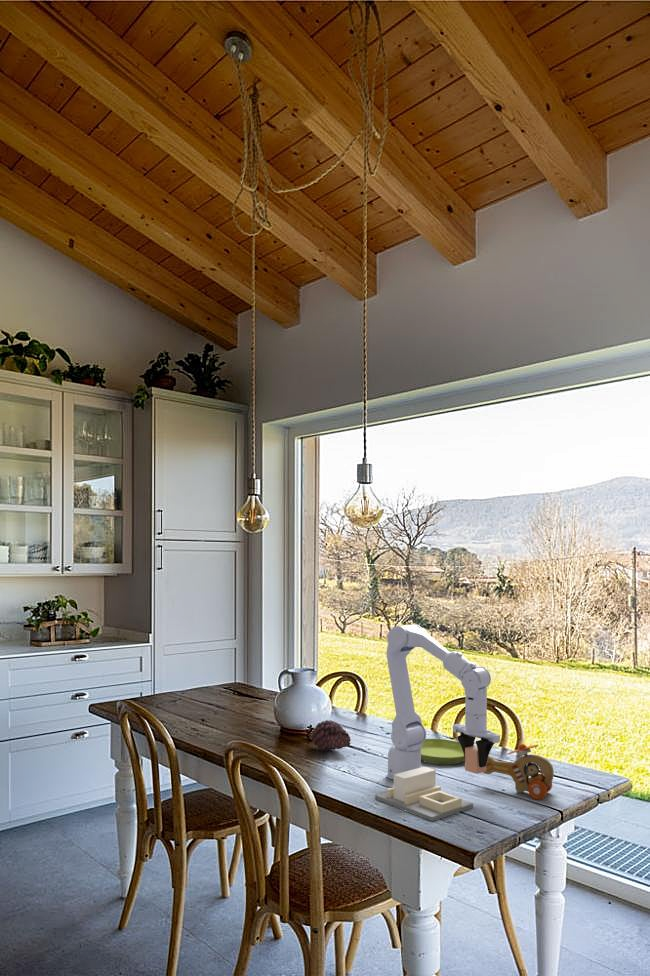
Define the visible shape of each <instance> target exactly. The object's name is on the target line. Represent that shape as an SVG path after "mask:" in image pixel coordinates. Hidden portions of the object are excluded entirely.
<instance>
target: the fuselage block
mask: <svg viewBox="0 0 650 976" xmlns="http://www.w3.org/2000/svg"><path fill="white" fill-rule="evenodd" d="M436 772H437V771H436V769H433V768H431V767H427V766H421V768H417V769H413V770H409V771H405V772H402V773H398V774H394V780H393V787H394V798H395V799H398V800H400V801H403V802H404V796H405V795H408V794H412V793H415V792H418V791H422V790H425V789H429V788H432V787H435V786H436V775H437V774H436Z"/></svg>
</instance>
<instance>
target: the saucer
mask: <svg viewBox="0 0 650 976" xmlns="http://www.w3.org/2000/svg"><path fill="white" fill-rule="evenodd" d="M421 760H422V761H421V762H424V761H425V762H424V763H428V762H429V764H433V763H435V764H434V765H455V763H456V764H460V763H463V762H465V757H464V753H463V750H462V747H461V745H460V743H459V741H456V740H451V739H443V738H442V739H441V738H426V739H425V741H424V742H423V743H422V747H421Z"/></svg>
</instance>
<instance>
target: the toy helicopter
mask: <svg viewBox="0 0 650 976" xmlns="http://www.w3.org/2000/svg"><path fill="white" fill-rule="evenodd" d="M537 747H539V745H538V744H534V745H533V744H532V745H529V746H527V745H526V744H524V743H521V744H519V745H518V747H517V748H518V749H515V750H511V751H509V752H508V753H507V754H508V755H510V754H515V753H517V754H518V756H519V758H518V759H517V760H515V761H514V762H513V761H505V760H504V761H503V760H496V759H495V758H494V757H492V756H490V755H489V756H488V759H487V763H486V771H485V772H482V774H485V775H491V774H492V773H499V774H503V775H507V776H509V777H511V779H512V780H513V781H514V784H515V787H514V788H515V791H516V792H517V793H520V794H521V793H523V792H528V793H529V795H530V797H531V798H532V799H535V800H537V799H538V800H543V799H544V798H545V797H546V795H547V794H548V793H549V792H550V791H551V790H552V788H553V780H554V774H555V773H554V767H553V765H552V763H551V762H550V760H548V759H547V758H546V757H544V756H542V755H538V754H529V753H531V751H532V750H531V749H533V748H537ZM538 800H537V801H538Z"/></svg>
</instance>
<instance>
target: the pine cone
mask: <svg viewBox="0 0 650 976" xmlns="http://www.w3.org/2000/svg"><path fill="white" fill-rule="evenodd" d="M309 736H310V738H311V740H312V744H313V746H316V748H317V749H319V750H322V751H323V752H325V751H331V750H332V751H335V750H341V749H343V748H347V747H348V746H350V745H351V740H352V739H351V736H350V734H349V733H348V732H347V731H346V730H345V729H344V728H343V727H342V726H341V725H340V724H339V723H338V722H337V721H333V720H332V719H331V720H328V719H326V720H324V721H321V722H318V723H317V725H316V726H315V727H314V728H313V731H312V732H311V734H310V735H309Z"/></svg>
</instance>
